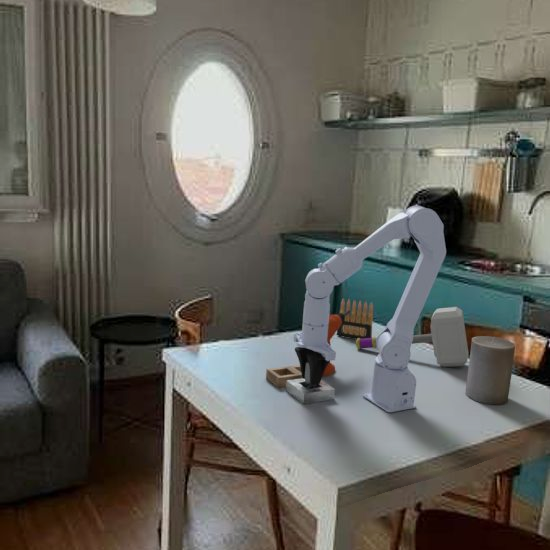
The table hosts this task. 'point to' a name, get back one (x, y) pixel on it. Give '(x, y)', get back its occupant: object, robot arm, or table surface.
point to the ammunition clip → (356, 321)
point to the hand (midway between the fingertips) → (310, 380)
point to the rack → (283, 375)
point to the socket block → (310, 391)
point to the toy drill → (333, 326)
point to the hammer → (440, 337)
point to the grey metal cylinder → (308, 377)
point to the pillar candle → (490, 370)
